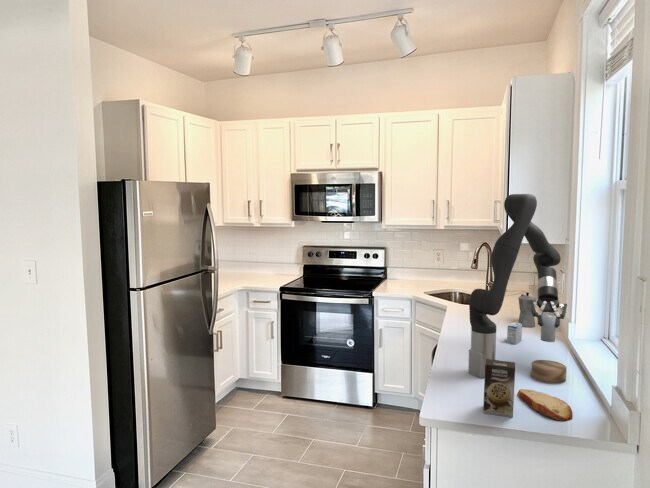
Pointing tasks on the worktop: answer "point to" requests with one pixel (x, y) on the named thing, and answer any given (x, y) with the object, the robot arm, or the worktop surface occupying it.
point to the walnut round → (548, 371)
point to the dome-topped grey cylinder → (548, 327)
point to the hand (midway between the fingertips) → (548, 325)
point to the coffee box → (499, 387)
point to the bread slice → (546, 404)
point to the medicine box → (514, 333)
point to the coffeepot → (526, 311)
